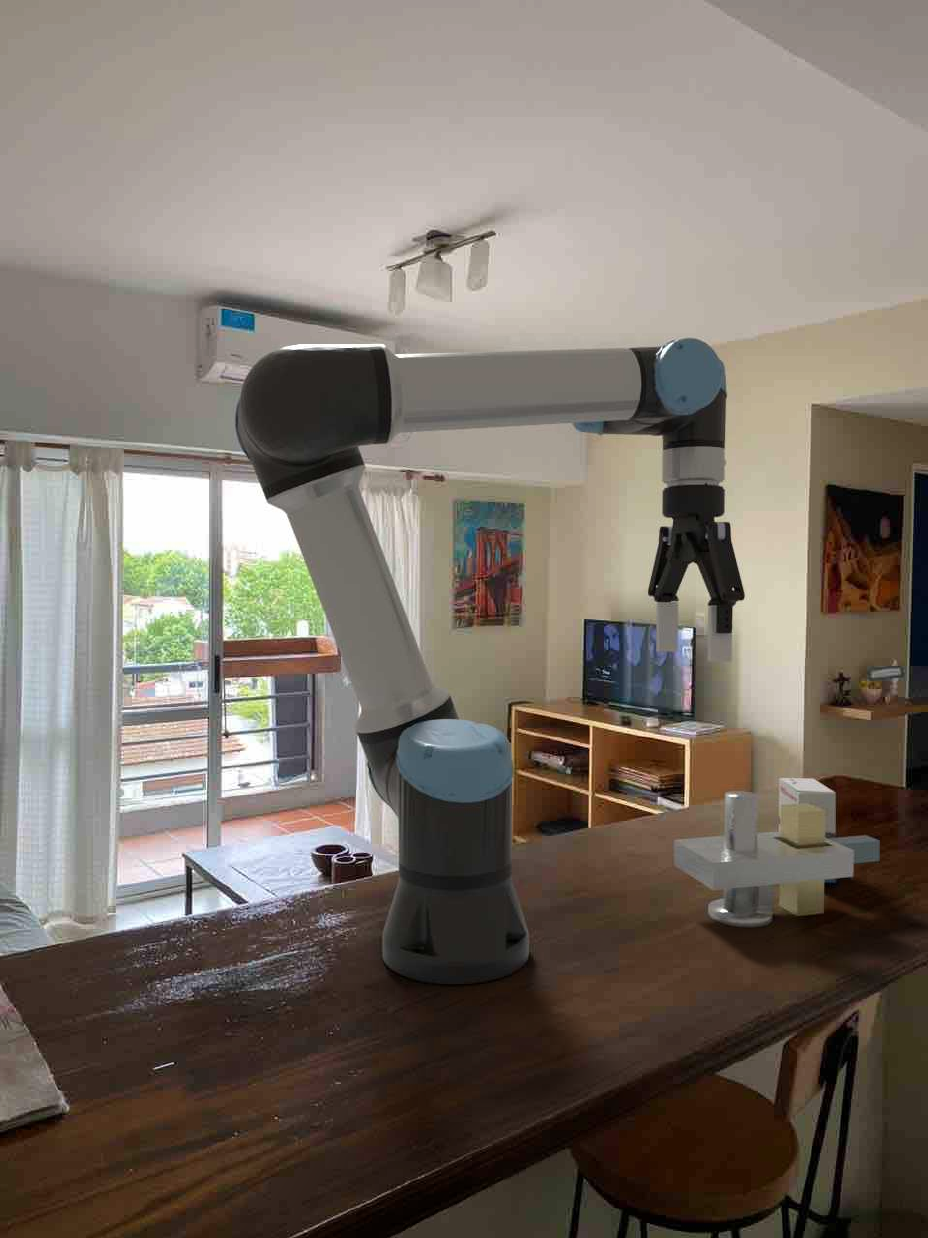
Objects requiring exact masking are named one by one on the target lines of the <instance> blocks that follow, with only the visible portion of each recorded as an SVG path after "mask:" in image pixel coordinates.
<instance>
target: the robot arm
mask: <svg viewBox="0 0 928 1238" xmlns="http://www.w3.org/2000/svg"><path fill="white" fill-rule="evenodd" d="M727 398H728V392H727V375H726V367H725V364H724V361H722V359H720V357H719V356H718V354H717V352H716V351H715V350H714V348H713V347H712V346H711V345H709V344H708V343H706V342H705V341H703V340H701V339H698V338H693V337H684V338H680V339H674V340H671V341H669V342H666V343H664V345H662V346H645V347H644V346H642V347H641V346H639V347H628V348H626V347H617V348H616V347H614V348H610V347H608V348H606V347H604V348H580V349H579V348H576V349H572V348H571V349H543V350H542V349H539V350H506V351H505V350H503V351H500V350H499V351H470V352H469V351H468V352H467V351H466V352H464V351H463V352H441V353H440V352H436V353H434V352H433V353H432V352H431V353H403V354H402V353H401V354H399V353H398V354H395V353H394V352H392V351H391V350H390V349H389V348H388V347H387V346H386V345H385V344H383V343H381V344H380V343H373V344H372V343H370V344H369V343H367V344H350V343H349V344H348V343H347V344H346V343H344V344H342V343H339V344H338V343H337V344H336V343H335V344H330V343H328V344H327V343H326V344H325V343H324V344H323V343H321V344H320V343H317V344H296V345H288V346H287V345H286V346H284V347H282V348H281V347H280V348H278V349H276V350H273V351H271V352H269V353H267V354H266V355H265V356H263V357H262V358H260V359H258V361H256V363H255V364H254V365H253V366H252V367H251V368H250V370H249V371H248V373H247V375H246V377H245V378H244V381H243V384H242V387H241V391H240V396H239V399H238V403H236V408H235V415H234V417H235V418H234V427H235V433H236V437H237V440H238V443H239V446H240V448H241V450H242V452H243V453H244V454H245V456H246V458H247V459H248V460H249V461H250V462H251V464H252V467H253V469H254V472H255V475H256V477H257V480H258V482H259V485H260V487H261V491H262V493H263V495H264V498H265V500H266V503H267V504H269V505H270V506H273V507H274V508H277V509H279V510H281V511H283V512H284V513H285V514H286V516H287V519H288V521H289V524H290V527H291V530H292V532H293V534H294V536H295V540H296V543H297V544H298V547H299V549H300V553H301V555H302V558H303V560H304V563H305V566H306V568H307V571H308V573H309V577H310V578H311V581H312V583H313V586H314V589H315V591H316V594H317V597H318V599H319V602H320V605H321V606H322V609H323V612H324V615H325V617H326V620H327V622H328V625H329V627H330V630H331V632H332V635H333V637H334V641H335V643H336V646H337V648H338V649H337V650H338V651H339V653H340V657H341V658H342V661H343V663H344V667H345V669H346V672H347V674H348V677H349V680H350V682H351V684H352V687H353V690H354V692H355V695H356V697H357V701H358V703H359V705H360V708H361V711H360V714H359V716H358V719H357V720H356V723H355V724H354V729H355V732H356V735H357V736H358V737H357V738H358V739H359V743H360V745H361V747H362V750H363V753H364V755H365V758H366V761H367V764H366V766H367V768H368V771H367V772H368V778H369V780H370V783H371V785H372V787H373V789H374V790H375V793H376V794H377V796H378V797H379V798H380V799H381V800H382V801H383V802H384V803H385V804H386V805H387V806H388V807H389V808H391V810H392V812H393V814H395V816H396V817H397V821H398V822H397V823H398V881H397V882H398V883H397V885H396V889H395V893H394V896H393V898H392V902H391V906H390V908H389V912H388V914H387V918H386V921H385V924H384V927H383V931H382V937H381V942H382V943H381V944H382V947H381V949H382V953H381V954H382V959H383V963H384V964H385V965H386V966H387V967H388V968H389V969H390V970H392V971H393V972H395V973H396V974H399V975H401V976H403V977H406V978H409V979H412V980H414V981H415V980H416V981H420V982H425V983H431V984H440V985H468V984H469V985H470V984H471V985H472V984H478V983H484V982H490V981H493V980H494V981H495V980H497V979H501V978H504V977H506V976H508V975H511V974H513V973H515V972H517V971H518V970H519V969H521V968H522V967H523V966H525V964H526V963H527V962H528V959H529V957H530V956H529V954H530V935H529V934H530V933H529V930H528V927H527V924H526V920H525V917H524V914H523V911H522V908H521V904H520V902H519V898H518V896H517V895H518V894H517V892H516V890H515V889H516V888H515V885H514V882H513V874H512V873H513V872H512V871H513V869H512V868H513V866H512V864H513V863H512V860H513V857H512V855H513V854H512V853H513V852H512V851H513V849H512V848H513V778H514V772H515V770H514V769H515V768H514V762H513V758H512V747H511V743H510V741H509V739H508V737H507V736H506V735H505V734H504V733H503V732H502V731H501V730H500V729H498V728H496V727H494V726H493V725H490V724H486V723H477V722H476V721H474V720H468V719H460V717H459V715H458V712H457V710H456V707H455V704H454V701H453V698H452V697H451V693H450V691H449V690H447V689H446V688H444V687H441V686H439V685H437V684H434V682H432V680H431V678H430V675H429V672H428V669H427V666H426V664H425V661H424V659H423V656H422V653H421V651H420V648H419V645H418V642H417V641H416V637H415V635H414V632H413V629H412V626H411V624H410V622H409V621H410V620H409V618H408V616H407V613H406V611H405V608H404V604H403V602H402V600H401V597H400V595H399V591H398V589H397V586H396V584H395V581H394V578H393V576H392V573H391V570H390V567H389V564H388V562H387V560H386V557H385V554H384V552H383V548H382V546H381V543H380V541H379V538H378V535H377V532H376V530H375V527H374V525H373V522H372V519H371V517H370V514H369V511H368V509H367V505H366V504H365V500H364V498H363V496H362V492H361V490H360V482H361V480H362V478H363V475H364V473H365V470H366V468H367V466H366V464H365V462H364V460H363V456H362V453H361V451H360V448H359V447H361V446H368V445H369V446H371V445H383V444H384V445H387V444H388V445H389V444H390V443H391V442H392V441H393V440H394V438H396V436H397V435H398V434H400V433H420V432H435V431H437V432H438V431H452V430H453V431H454V430H468V429H469V430H470V429H471V430H472V429H488V428H500V427H501V428H507V427H520V426H522V427H523V426H543V425H558V424H571V425H572V426H573V427H574V429H576V430H577V431H578V432H580V433H586V434H588V433H589V434H596V435H597V434H598V435H599V436H603V435H624V436H625V435H631V436H634V435H636V436H653V437H656V436H657V437H659V436H662V459H661V460H662V461H661V462H662V463H661V465H662V466H661V469H662V471H661V472H662V473H661V475H662V476H661V477H662V481H661V482H663V484H665V485H666V487H664V489H663V490H662V493H661V494H662V501H661V502H662V509H661V510H662V512H661V513H662V516H663V517H664V518H667V519H672V526H665V525H664V526H660V527H659V530H658V531H659V532H658V533H659V535H658V545H657V549H656V553H655V558H654V561H653V568H652V570H651V571H652V572H651V575H650V579H649V584H648V589H647V595H648V597H653V601H654V602H656V631H655V632H656V636H655V637H656V638H655V639H656V640H655V641H656V642H655V643H656V645H655V646H656V649H655V651H656V652H657V653H664V652H665V653H666V652H667V653H670V652H675V653H676V652H678V649H679V647H678V642H679V638H678V637H679V601H680V599H679V597H678V595H677V593H678V591H679V589H680V586H681V584H682V581H683V579H684V577H685V574H686V572H687V569H688V567H689V566H690V564H692V563H694V564H696V565H697V567H698V570H699V572H700V575H701V577H702V580H703V583H704V585H705V587H706V590H707V592H708V594H709V601H708V603H707V607H708V609H707V621H708V622H707V662H711V663H716V662H717V663H718V662H732V659H733V658H732V657H733V656H732V652H733V650H732V647H733V639H732V637H733V612H734V611H733V607H734V606H736V604H737V602H739V601H740V602H742V601H744V600H745V597H746V594H745V590H744V585H743V582H742V578H741V574H740V570H739V566H738V561H737V557H736V554H735V551H734V547H733V542H732V530H731V528H732V527H731V523H730V522H729V521H715V518H719V517H720V518H721V517H722V516H724V514H725V512H726V511H725V510H726V509H725V506H726V504H725V503H726V502H725V499H726V497H725V496H726V490H725V488H724V487H723V485H720V483H723V482H724V481H725V475H726V474H725V472H726V471H725V466H726V464H727V460H726V459H725V455H726V453H725V449H726V419H727V418H726V413H727Z"/></svg>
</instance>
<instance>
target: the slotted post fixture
mask: <svg viewBox="0 0 928 1238" xmlns="http://www.w3.org/2000/svg"><path fill="white" fill-rule="evenodd" d="M758 816H759V795H758V794H757V793H754V792H751V791H743V790H731V791H725V793H724V835H715V836H705V837H703V836H702V837H692V838H680V839H677V838H676V839H674V844H673V845H674V846H673V848H674V849H673V853H674V854H673V860H674V861H673V865H674V866H675V867H677V868H678V869H680V870H681V871H682V872H684V873H686V874H687V875H689V876H690V877H692V878H694V879H695V880H696V881H698V882H700V883H701V884H702V885H704V886H705V887H707V888H708V889H710V890H712V891H719V890H720V891H722V890H723V898H718V899H715V900H712V901H711V902H710V903H708V907H707V909H708V910H707V913H708V916H709V917H710V919H712V920H714V921H716V922H717V923H721V924H723V925H727V926H731V927H738V928H759V927H763V926H764V927H765V926H767V925H769V924H771V923H772V921H773V915H774V914H775V885H780V884H783V883H794V882H804V881H814V880H824V879H834V878H836V879H842V878H843V879H844V878H853V877H854V866H855V865H854V864H860V863H871V862H873V863H874V862H880V846H881V845H880V843H881V842H880V840H879V839H876V838H874V837H871V836H869V835H866V834H864V835H863V834H862V835H854V836H853V835H851V836H843V837H836V838H825V847H814V848H803V849H795V848H793V847H791V846H789V845H787V844H785V843H783V842H781V841H780V831H779V830H778V831H777V830H776V831H765V832H758V826H759V823H758V819H759V817H758Z"/></svg>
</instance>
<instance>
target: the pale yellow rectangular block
mask: <svg viewBox="0 0 928 1238" xmlns="http://www.w3.org/2000/svg"><path fill="white" fill-rule="evenodd" d="M780 841H781V842H783V843H785V844H787V845H789V846H791V847H793V848H795V849H803V848H814V847H825V810H823V809H821V808H818V807H816V806H813V805H811V804H808V803H800V804H787V805H781V827H780ZM778 899H779V900H778V901H779V902H778V904H779V907H781V908H782V909H785V910H786V911H788V912H789V913H791V914H793V915H794V916H796V917H803V916H811V915H819V914H824V912H825V911H824V910H825V909H824V908H825V883H824V880H814V881H804V882H794V883H783V884H779V898H778Z"/></svg>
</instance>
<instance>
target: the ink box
mask: <svg viewBox="0 0 928 1238" xmlns="http://www.w3.org/2000/svg"><path fill="white" fill-rule="evenodd" d="M778 781H779V782H778V785H779V786H778V789H779V790H778V792H779V793H778V831H780V827H781V805H787V804H800V803H808V804H811V805H813V806H816V807H818V808H821V809H823V810H825V838H837V836H836V835H837V834H836V832H837V831H836V827H837V826H836V825H837V824H836V822H837V821H836V820H837V819H836V817H837V816H836V813H837V811H836V810H837V809H836V805H837V804H836V803H837V802H836V798H837V797H836V792H835V791H834V790H833V789H831V788H829V787H827V786H826V785H824V784H823V783H822V782H819V781H818V780H816V779H815V778H803V777H798V778H797V777H795V778H794V777H792V778H791V777H780V778H779V779H778ZM825 883H828V884H829V883H833V884H835V883H837V878H834V879H824V884H825Z"/></svg>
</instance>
